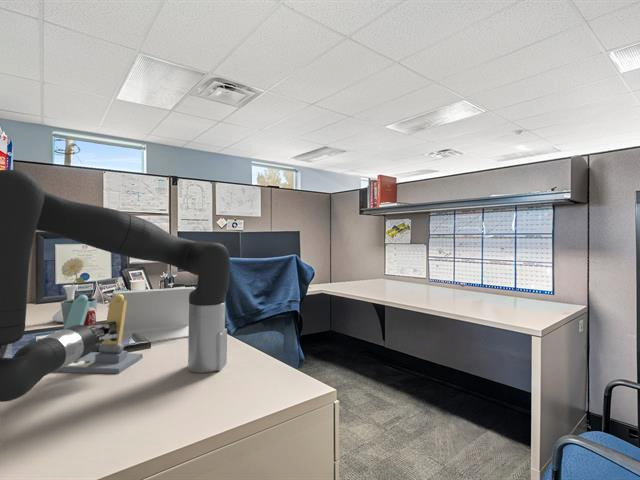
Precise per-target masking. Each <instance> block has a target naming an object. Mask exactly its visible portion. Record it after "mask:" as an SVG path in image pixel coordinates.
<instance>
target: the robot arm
mask: <svg viewBox="0 0 640 480" xmlns="http://www.w3.org/2000/svg"><path fill="white" fill-rule="evenodd" d="M36 231H40V232H44V233H45V232H46V233H49V234H50V233H51V234H54V235H58V236H61V237H64V238H67V239H69V240H73V241H74V242H77V243H79V244H80V243H81V244H83V245H86V246H89V247H92V248H95V249H98V250H101V251H104V252H108V253H111V254H116V255H119V256H122V257H127V258H131V259H137V260H141V261H148V262H155V263H157V262H158V263H162V264H165V265H170V266H172V267H175V268H178V269H180V270H183V271H185V272H187V273H190V274H192V275H195V276H197V284H196V285H197V286H196V287H195V290H193V291H191V292H190V294H189V335H188V338H187V339H188V342H187V343H188V348H187V351H188V353H187V354H188V355H187V356H188V357H187V358H188V359H187V360H188V361H187V369H188V370H189V371H190V372H192V373H199V374H202V373H203V374H204V373H212V372H220V371H221V370H223V368H224V366H225V365H226V364H227V362H228V361H227V360H228V328H226V297H227V293H228V291H229V287H230V286H229V285H230V273H231V271H230V269H231V260H230V259H231V257H230V253H229V250H228V249H227V247H226V246H225V245H224V244H223V243H220V242H213V241H209V242H208V241H197V240H191V239H187V238H183V237H179V236H176V235H173V234H171V233H169V232H167V231H166V230H164V229H163V228H162V227H160V226H158V225H157V224H155V223H153V222H151V221H149V220H146V219H144V218H141V217H139V216H135V215H134V214H131V213H128V212H124V211H120V210H117V209H113V208H109V207H104V206H100V205H93V204H88V203H87V204H86V203H81V202H77V201H72V200H70V199H66V198H62V197H59V196H57V195H55V194H52V193H50V192H47V191H46V190H45V191H44V190H43V188H42V186H41V184H40V183H39V182H38V181H37V180H36V179H35V178H34V177H33V176H31V175H30V174H28V173H26V172H24V171H20V170H16V169H0V350H1V349H2V347H3V346H7V345H11V344H14V343H17V342H19V341H21V339H22V338H23V337H24V335H25V330H26V319H27V306H28V305H27V304H28V303H27V302H28V290H29V289H28V286H29V272H30V271H29V270H30V263H31V262H30V261H31V254H32V248H33V244H34V240H35V239H34V238H35V234H36ZM106 322H107V321H106ZM106 322H105V323H103V324H101V323H100V324H99V323H98V324H96V326H94V325H89V326H84V325H74V326H71V327H68V328H66V329H64V328H63V329H61V330H58V331H56V332H54V333H51V334H49V335H47V336H45V337H43V338H41V339H38V340H36V341H33V342H30V343H29V344H26V345H24V346H23V347H21V348H20V349H18V350H17V351H16V352H15V353H14V355H13V356H12V357H0V403H5V402H11V401H14V400H17V399H19V398H21V397H24V396H25V395H26V394H28V393H29V392H30V391H31V390H32V389H33V388H34V387H35V386H36V385H37V384H38V383H39V382H40V381H41V380H42V379H43V378H44V377H45V376H48V375H50V374H51V373H53V371H55V370H57V369H59V368H62V367H65V366H67V365H69V364H71V363H73V362H75V361H76V360H78V359H80V358H82V357H84V356H86V355H88V354H89V353H90V352H93V350H94V348H95V347H96V346H97V345H98V344H101V343H103V341H104V340H105V339H109V340H111V341H117V329H116V322H111V321H110V322H107V323H106Z"/></svg>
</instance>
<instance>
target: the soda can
mask: <svg viewBox="0 0 640 480" xmlns="http://www.w3.org/2000/svg"><path fill="white" fill-rule="evenodd" d="M94 308H95V307H89V309H88V312H87V315H86V318H85V321H84V326H89V325H94V326H96V325H97V309H96V310H95V309H94Z"/></svg>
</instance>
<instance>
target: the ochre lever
mask: <svg viewBox="0 0 640 480" xmlns="http://www.w3.org/2000/svg"><path fill="white" fill-rule="evenodd" d="M126 305H127V301H124V296H123V295H122V294H117V295H115V296H114V298H113V300H112V299H111V300H109V304H108V309H107V317H106V321H105V323H107V322H110V321H111V322H116V329H117V341H111V340H109V339H105V340H104V341H103V342H102V343H99V347H98V351H99V352H106V353H121V352H122V351H124V347H125V346H124V345H123V344H122V343H121V340H122V333H123V326H124V319H125V312H126Z"/></svg>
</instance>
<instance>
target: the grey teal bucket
mask: <svg viewBox="0 0 640 480" xmlns="http://www.w3.org/2000/svg"><path fill="white" fill-rule="evenodd" d="M73 300H77V298H74V299H70V300H67V299H65V300H62V301H61V302H60V307H61V309H62V316H63V322H62V324H63V328H64V327H65V324H66V321H67V318H68V315H69V312H70V309H71V306H72V303H73ZM88 301H90V305H89V307H95V308H94V309H95V310H96V311H97V306H98V299H97V298H96V297H88Z"/></svg>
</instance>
